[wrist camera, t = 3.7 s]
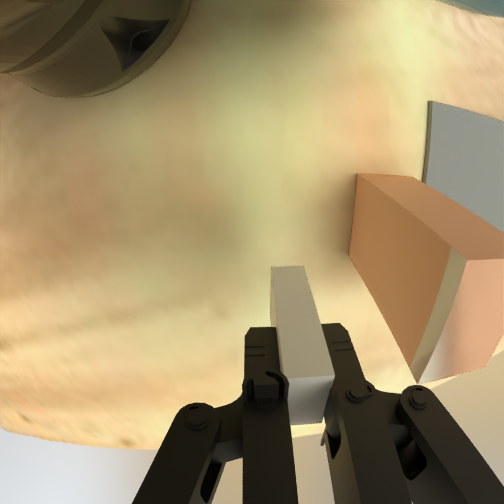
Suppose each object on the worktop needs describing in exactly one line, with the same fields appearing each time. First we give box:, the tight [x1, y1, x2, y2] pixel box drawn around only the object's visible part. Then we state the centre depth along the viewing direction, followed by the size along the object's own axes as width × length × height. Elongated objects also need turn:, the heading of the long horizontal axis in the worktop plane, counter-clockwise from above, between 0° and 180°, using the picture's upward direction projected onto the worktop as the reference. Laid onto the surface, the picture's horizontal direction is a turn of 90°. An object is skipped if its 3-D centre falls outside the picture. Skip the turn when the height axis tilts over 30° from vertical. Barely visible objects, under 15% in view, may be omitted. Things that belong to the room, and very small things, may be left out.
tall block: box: [349, 173, 504, 384], centre depth 17 cm, size 7×5×14 cm
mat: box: [422, 101, 504, 233], centre depth 23 cm, size 20×20×1 cm
